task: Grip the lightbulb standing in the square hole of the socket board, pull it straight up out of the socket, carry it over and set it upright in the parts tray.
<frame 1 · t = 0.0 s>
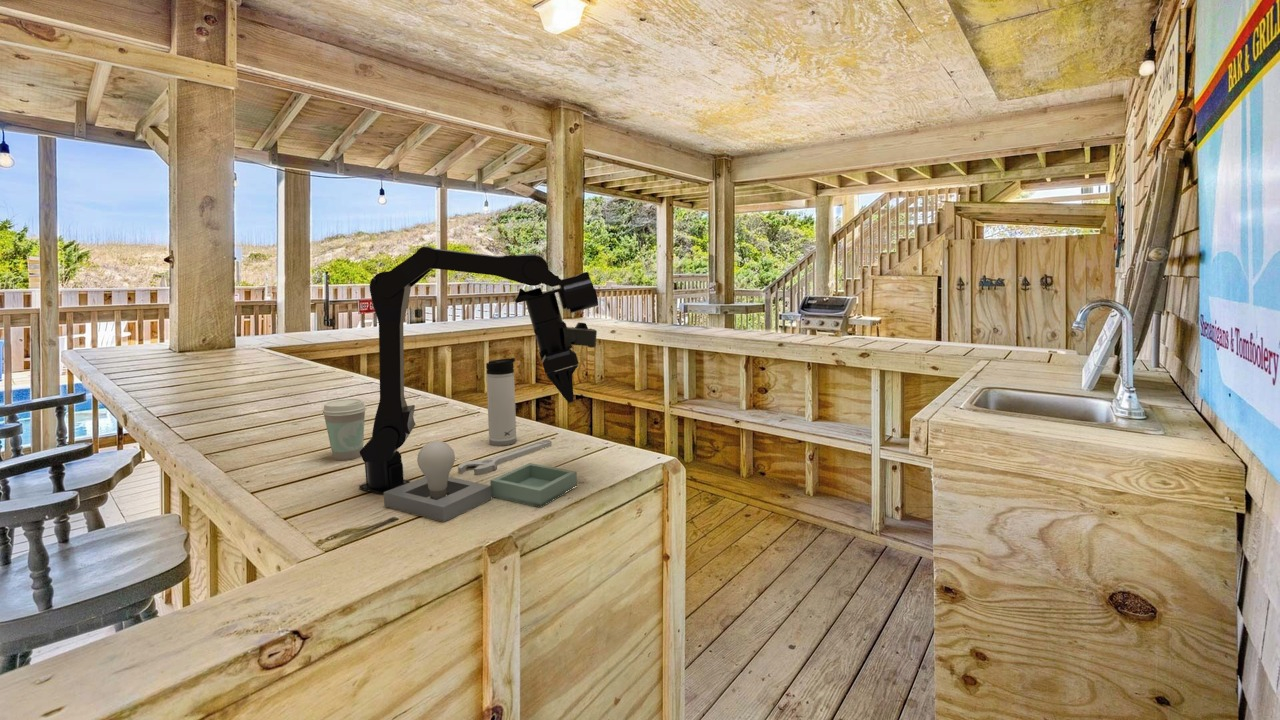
hand: (568, 397, 116), 15 cm above the countertop, tool pointing down, fingers open, 9 cm apart
travel mug: (503, 443, 140), on the countertop
parts tray: (534, 491, 108), on the countertop
tongs: (359, 537, 92), on the countertop
lightbulb: (438, 503, 103), resting in socket board
socket board: (438, 502, 103), on the countertop
coffee cup: (348, 457, 129), on the countertop
adjustable wrench: (511, 461, 127), on the countertop
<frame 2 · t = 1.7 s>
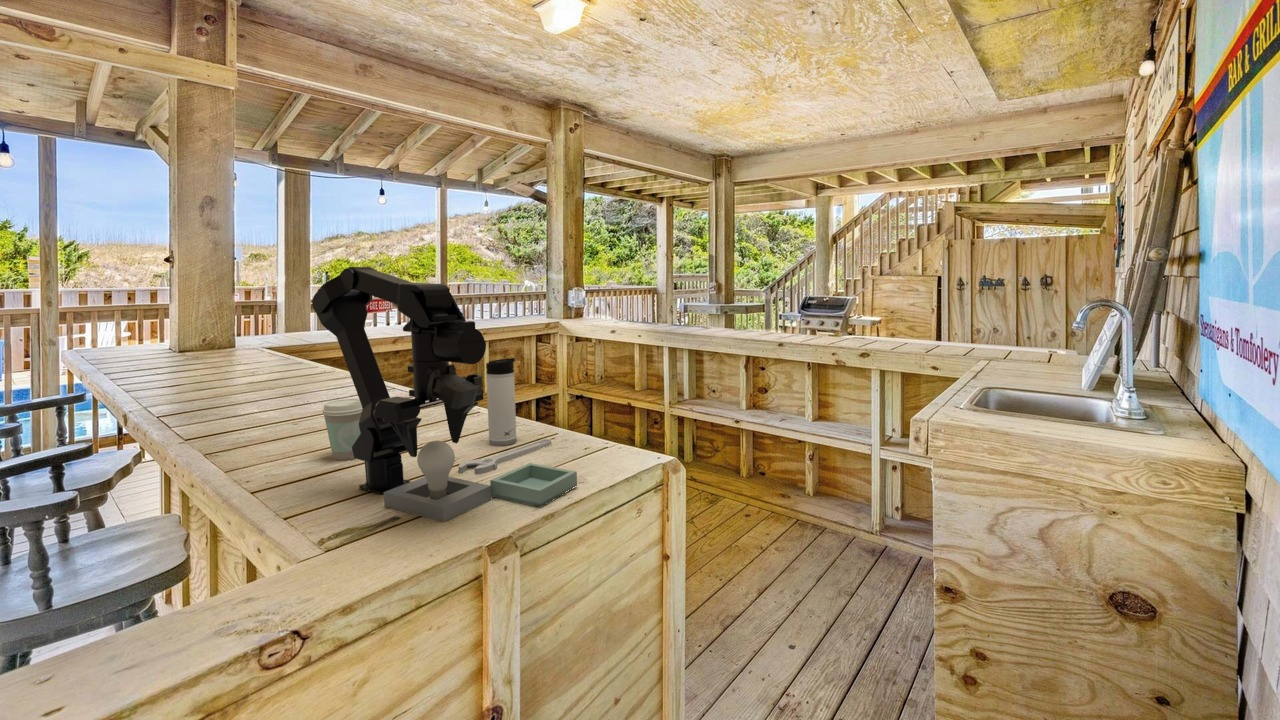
hand: (435, 449, 102), 10 cm above the countertop, tool pointing down, fingers open, 9 cm apart
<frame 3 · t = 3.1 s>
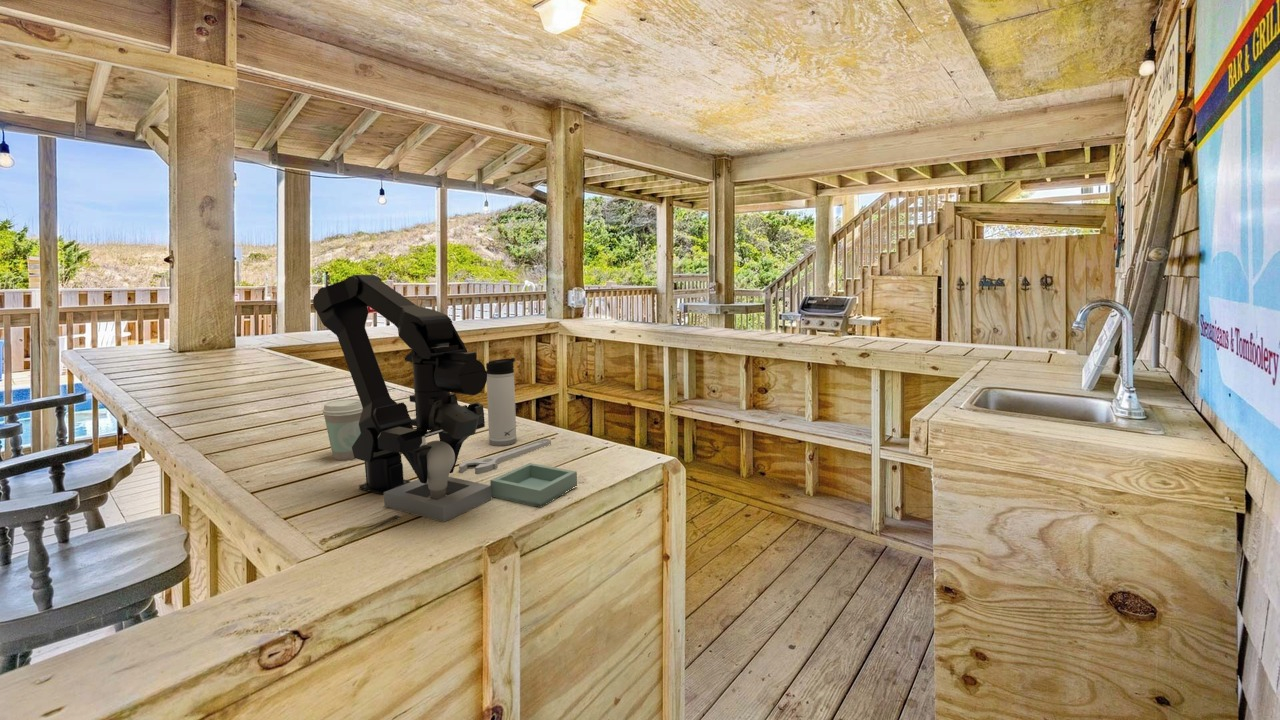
hand: (437, 477, 102), 5 cm above the countertop, tool pointing down, fingers closed on lightbulb, 5 cm apart
lightbulb: (438, 503, 103), resting in socket board, touching gripper
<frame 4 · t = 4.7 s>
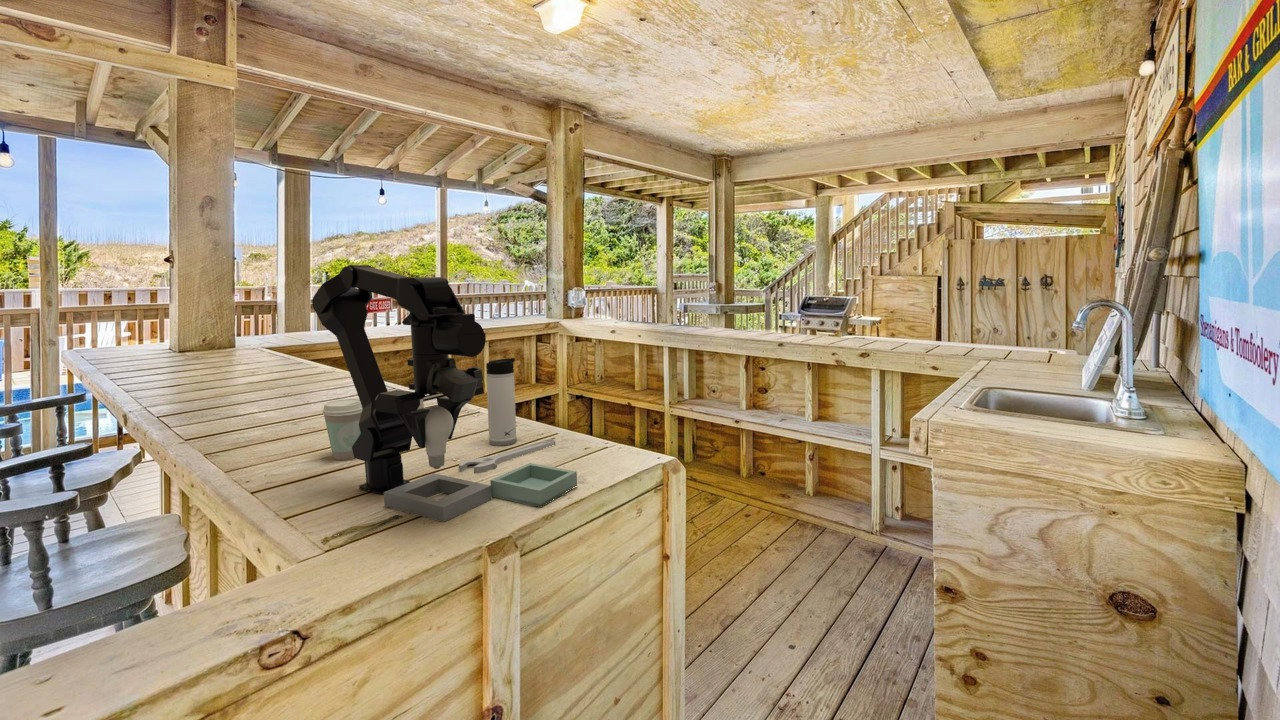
hand: (435, 443, 101), 11 cm above the countertop, tool pointing down, fingers closed on lightbulb, 5 cm apart
lightbulb: (437, 469, 102), point 6 cm above the countertop, touching gripper
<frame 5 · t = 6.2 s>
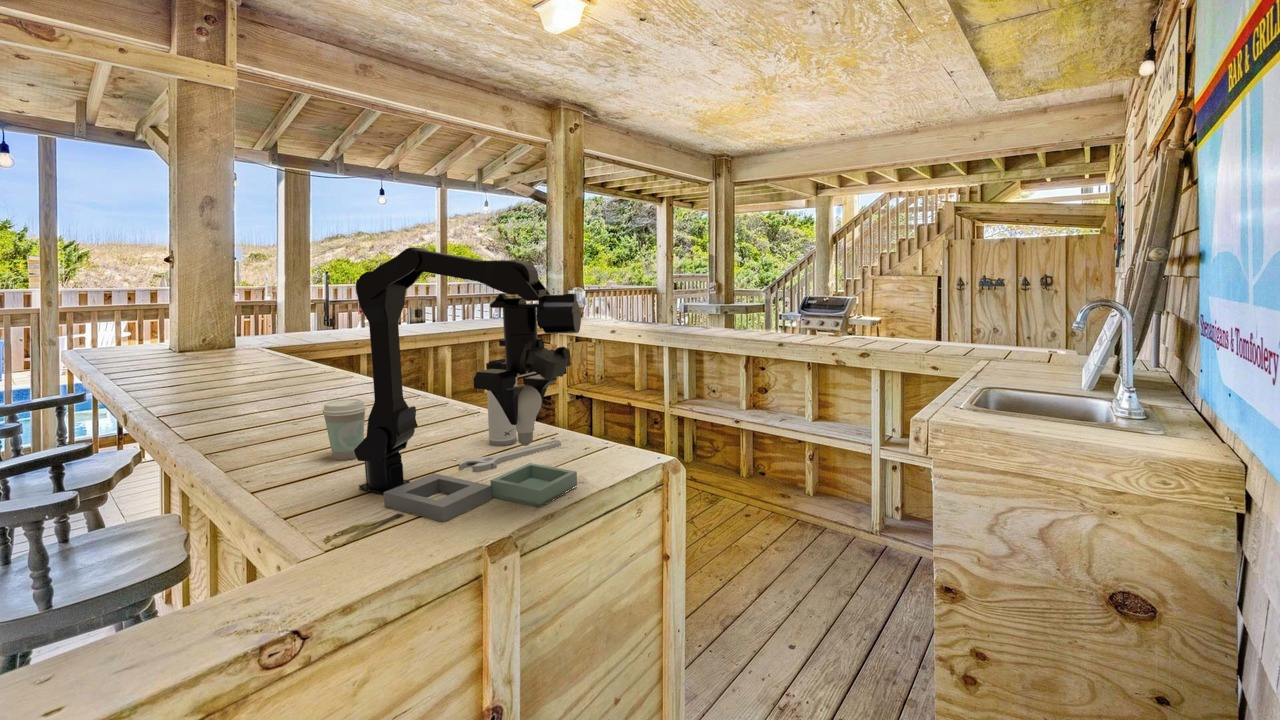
hand: (524, 420, 105), 13 cm above the countertop, tool pointing down, fingers closed on lightbulb, 5 cm apart
lightbulb: (525, 446, 106), point 9 cm above the countertop, touching gripper
when the fingers open (6 cm above the countertop, at t = 8.4 s): lightbulb drops 1 cm, resting on parts tray.
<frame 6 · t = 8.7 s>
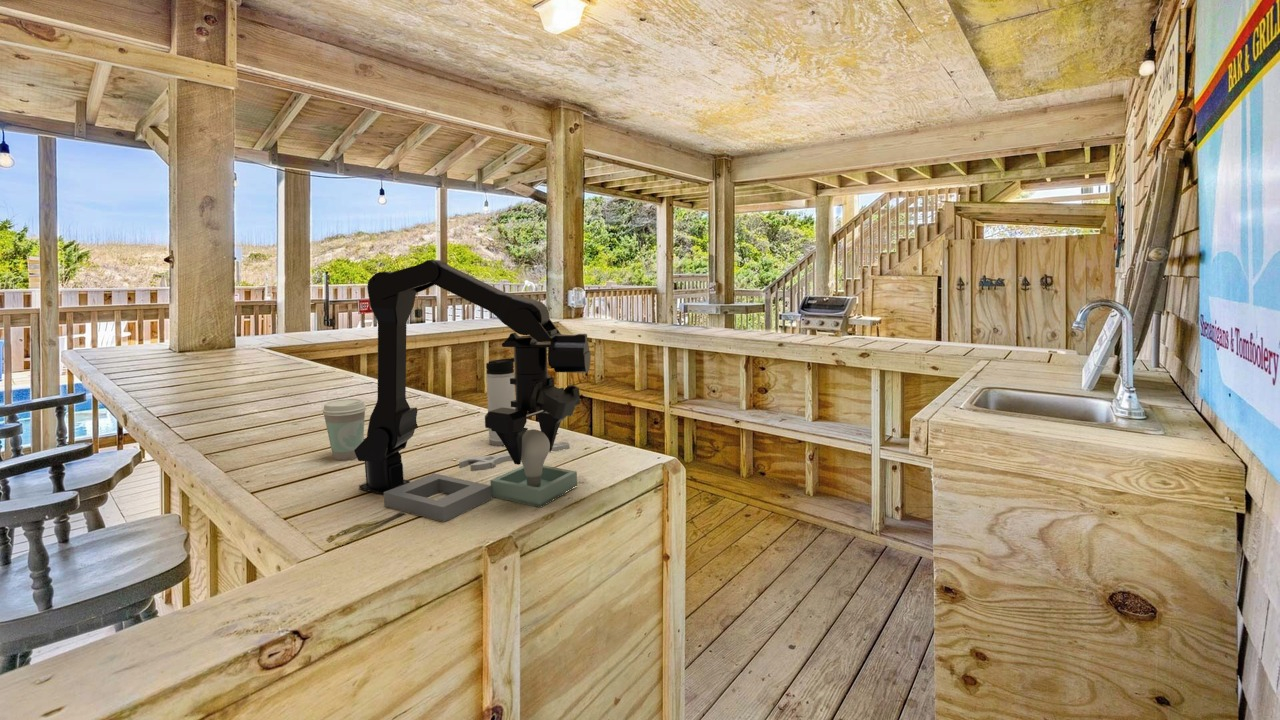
hand: (533, 457, 107), 6 cm above the countertop, tool pointing down, fingers open, 9 cm apart
lightbulb: (534, 489, 108), resting on parts tray
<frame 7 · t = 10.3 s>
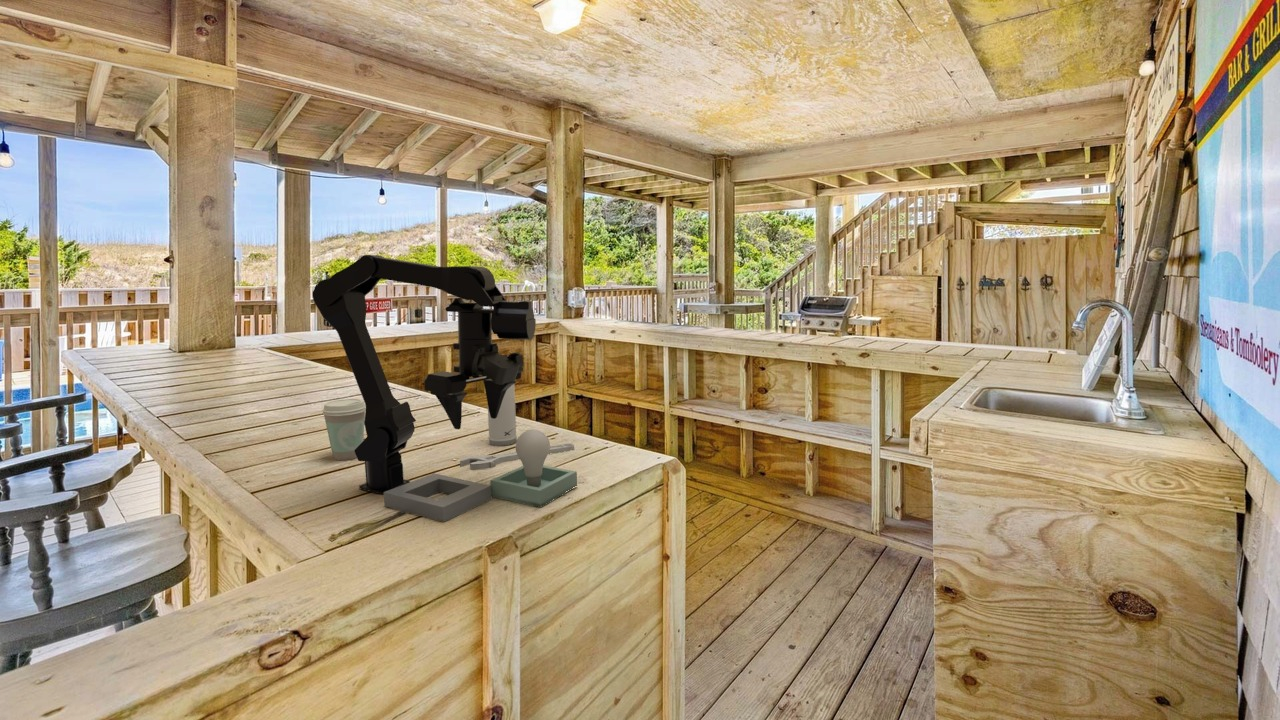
hand: (476, 423, 107), 12 cm above the countertop, tool pointing down, fingers open, 9 cm apart
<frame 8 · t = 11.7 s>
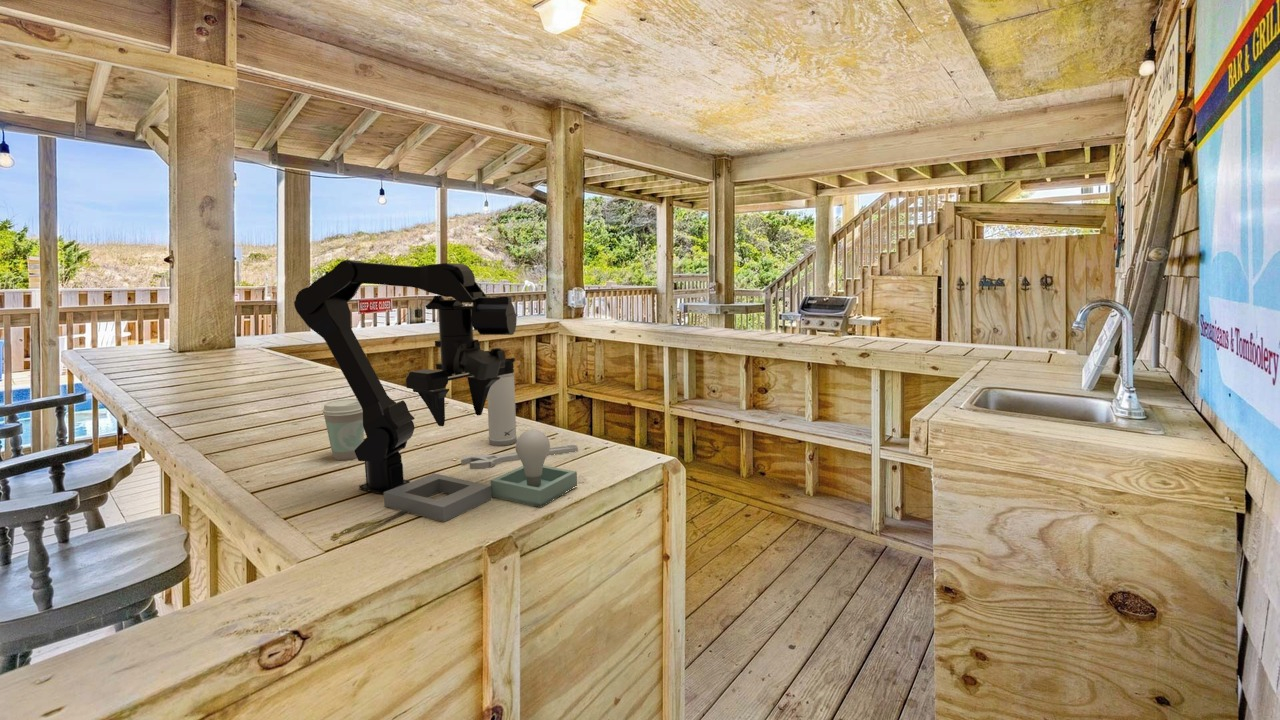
hand: (460, 420, 108), 13 cm above the countertop, tool pointing down, fingers open, 9 cm apart
at the end: lightbulb inside the target area on the parts tray (0.2 cm from its centre), point 0.4 cm above the parts tray's base; lightbulb tilted 0°; the gripper is holding nothing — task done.
